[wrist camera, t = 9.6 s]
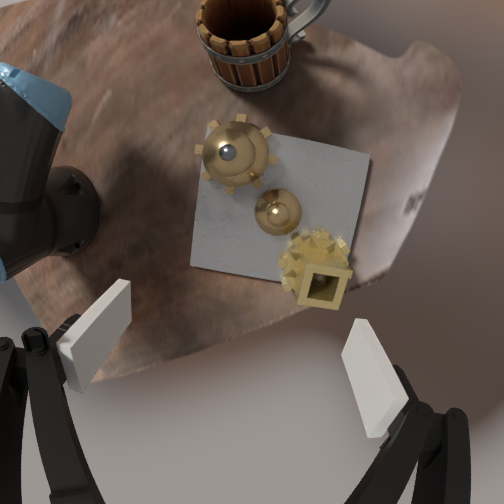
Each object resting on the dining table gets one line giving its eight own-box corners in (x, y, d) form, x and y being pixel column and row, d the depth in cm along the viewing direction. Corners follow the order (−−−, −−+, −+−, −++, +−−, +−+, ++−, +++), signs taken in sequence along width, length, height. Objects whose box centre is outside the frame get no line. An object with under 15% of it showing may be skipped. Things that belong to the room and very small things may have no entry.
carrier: (187, 261, 43) (166, 288, 34) (206, 113, 36) (187, 100, 27) (336, 287, 43) (351, 320, 33) (369, 143, 36) (396, 139, 27)
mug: (236, 107, 36) (215, 78, 21) (200, 51, 33) (165, 5, 19) (334, 61, 33) (364, 15, 18) (295, 7, 30) (303, -51, 16)
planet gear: (271, 291, 42) (270, 319, 34) (285, 221, 39) (288, 236, 31) (339, 301, 42) (351, 330, 34) (357, 235, 39) (376, 253, 31)
